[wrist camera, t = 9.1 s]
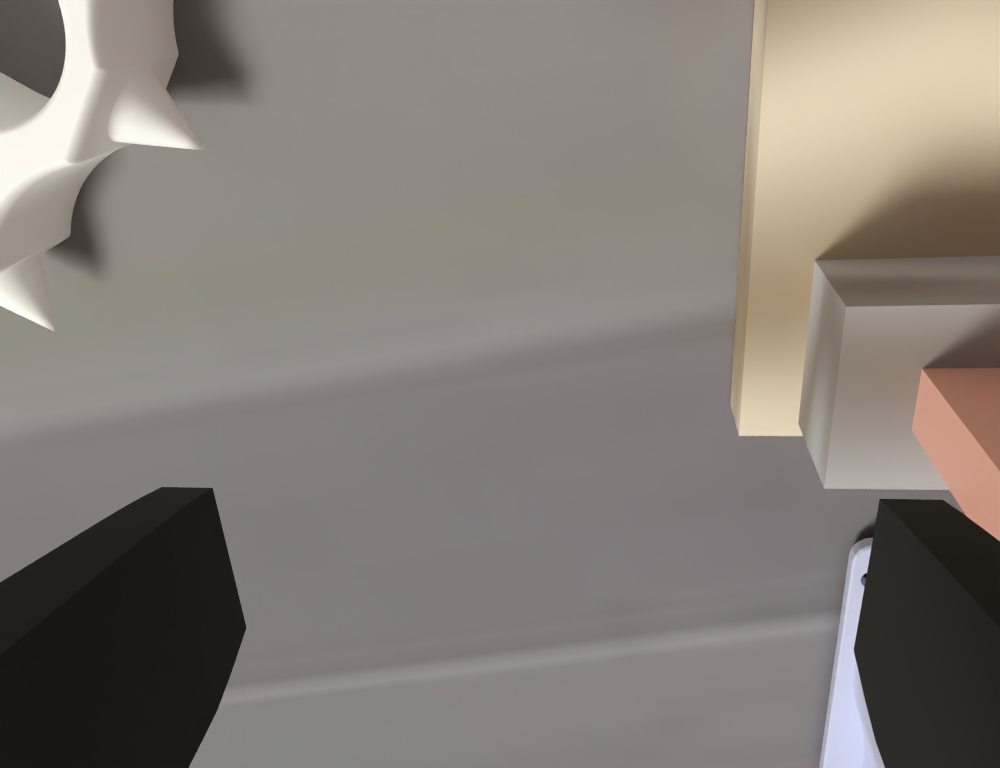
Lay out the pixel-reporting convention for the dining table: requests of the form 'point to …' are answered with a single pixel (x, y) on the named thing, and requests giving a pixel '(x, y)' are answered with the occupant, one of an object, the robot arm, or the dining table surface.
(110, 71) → the white flat perforated piece
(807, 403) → the display stand
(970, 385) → the pink notched tray
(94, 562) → the robot arm
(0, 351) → the dining table surface
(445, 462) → the dining table surface
